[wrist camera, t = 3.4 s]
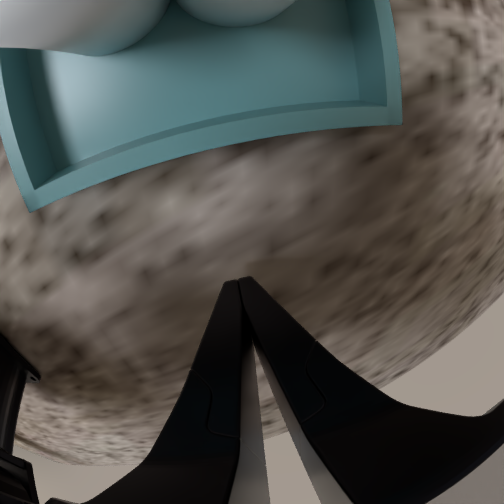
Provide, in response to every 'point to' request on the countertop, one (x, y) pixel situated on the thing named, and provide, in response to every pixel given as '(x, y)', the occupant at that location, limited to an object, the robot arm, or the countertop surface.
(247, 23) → the white round piece
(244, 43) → the tray
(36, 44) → the white egg
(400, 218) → the countertop surface
